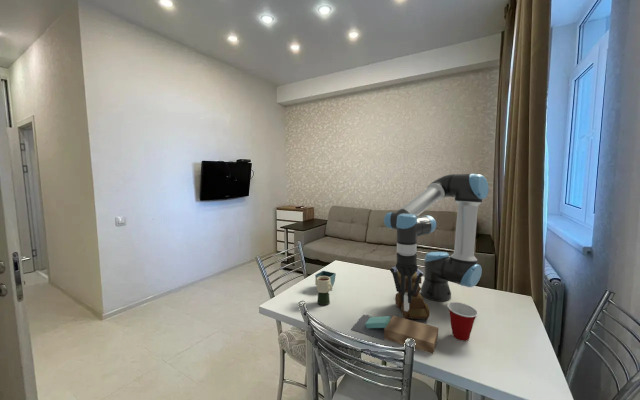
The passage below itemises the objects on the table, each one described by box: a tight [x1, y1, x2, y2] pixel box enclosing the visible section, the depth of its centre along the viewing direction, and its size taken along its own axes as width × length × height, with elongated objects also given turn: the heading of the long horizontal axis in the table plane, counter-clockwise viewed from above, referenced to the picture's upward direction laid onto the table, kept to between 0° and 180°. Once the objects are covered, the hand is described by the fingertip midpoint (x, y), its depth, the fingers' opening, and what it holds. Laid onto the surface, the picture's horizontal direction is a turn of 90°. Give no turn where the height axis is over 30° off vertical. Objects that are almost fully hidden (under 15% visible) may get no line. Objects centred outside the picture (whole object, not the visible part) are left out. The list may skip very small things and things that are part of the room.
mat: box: [350, 314, 385, 341], centre depth 115 cm, size 14×14×1 cm
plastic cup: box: [447, 301, 479, 342], centre depth 107 cm, size 11×11×12 cm
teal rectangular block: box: [365, 315, 391, 328], centre depth 113 cm, size 9×6×2 cm, turn 59°
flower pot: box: [315, 270, 337, 288], centre depth 153 cm, size 9×9×9 cm
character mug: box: [314, 276, 333, 306], centre depth 136 cm, size 11×7×13 cm, turn 48°
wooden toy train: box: [394, 270, 431, 320], centre depth 126 cm, size 20×11×17 cm, turn 0°
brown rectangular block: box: [384, 315, 439, 355], centre depth 107 cm, size 18×12×4 cm, turn 59°
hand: (406, 309), depth 110 cm, fingers closed
